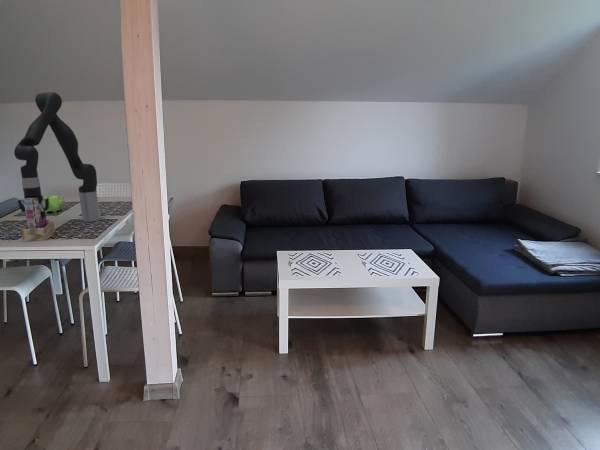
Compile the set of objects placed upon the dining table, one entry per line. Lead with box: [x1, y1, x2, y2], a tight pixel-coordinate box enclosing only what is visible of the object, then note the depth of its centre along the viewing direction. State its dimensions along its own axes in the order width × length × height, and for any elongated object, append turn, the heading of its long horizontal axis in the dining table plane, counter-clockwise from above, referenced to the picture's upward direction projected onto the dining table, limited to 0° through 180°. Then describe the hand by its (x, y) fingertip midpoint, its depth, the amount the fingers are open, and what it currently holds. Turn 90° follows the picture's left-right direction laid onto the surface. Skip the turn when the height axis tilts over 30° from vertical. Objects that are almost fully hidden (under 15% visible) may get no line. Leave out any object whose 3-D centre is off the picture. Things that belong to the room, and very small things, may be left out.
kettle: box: [43, 194, 67, 214], centre depth 283 cm, size 15×14×11 cm
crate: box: [20, 219, 56, 243], centre depth 228 cm, size 11×17×6 cm, turn 17°
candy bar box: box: [23, 194, 48, 229], centre depth 226 cm, size 11×5×16 cm, turn 5°
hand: (36, 218), depth 227 cm, fingers closed on candy bar box, 5 cm apart
